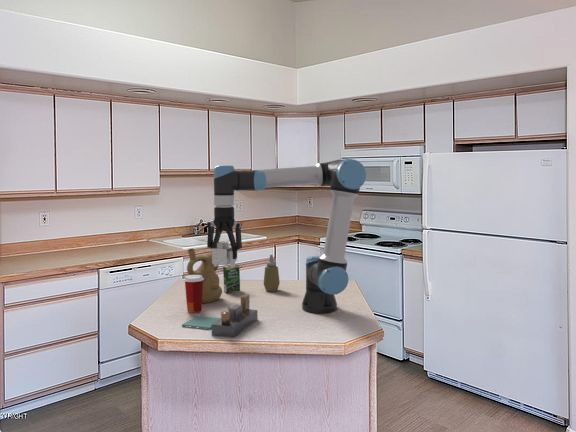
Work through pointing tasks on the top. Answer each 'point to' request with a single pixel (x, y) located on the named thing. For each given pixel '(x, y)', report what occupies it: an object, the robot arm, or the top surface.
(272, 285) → the squeeze bottle
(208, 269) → the ceramic vessel
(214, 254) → the lever cap
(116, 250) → the top surface
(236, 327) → the hand plane
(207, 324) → the rubber mat
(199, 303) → the coffee cup
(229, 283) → the coffee box
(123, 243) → the top surface
